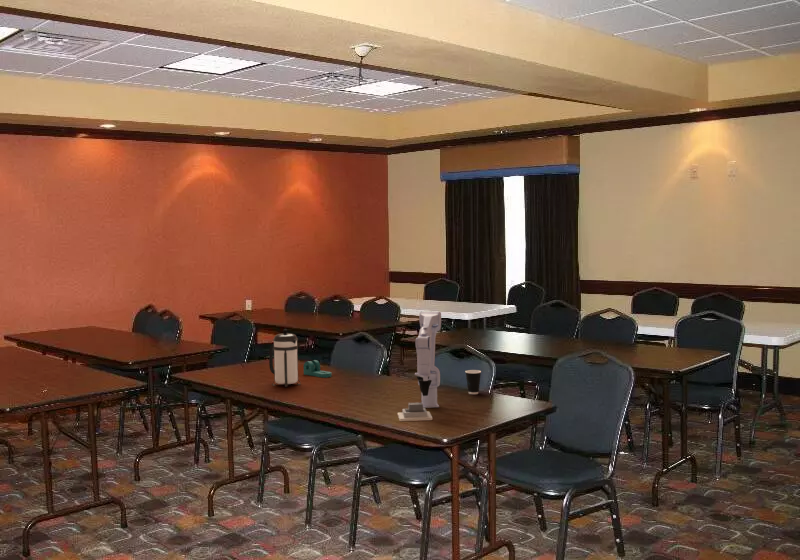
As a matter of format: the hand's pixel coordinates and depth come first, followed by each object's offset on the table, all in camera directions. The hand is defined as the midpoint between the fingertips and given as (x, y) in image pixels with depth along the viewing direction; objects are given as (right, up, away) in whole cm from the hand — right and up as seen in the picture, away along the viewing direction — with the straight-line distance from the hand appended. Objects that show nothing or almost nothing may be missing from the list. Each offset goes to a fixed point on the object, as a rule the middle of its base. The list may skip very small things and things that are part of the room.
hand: (424, 393), depth 358 cm
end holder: (-4, -10, -5) cm, 12 cm away
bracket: (-57, -4, +99) cm, 114 cm away
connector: (-4, -9, -5) cm, 11 cm away
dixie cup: (+26, -6, +44) cm, 51 cm away
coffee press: (-72, -6, +73) cm, 102 cm away
